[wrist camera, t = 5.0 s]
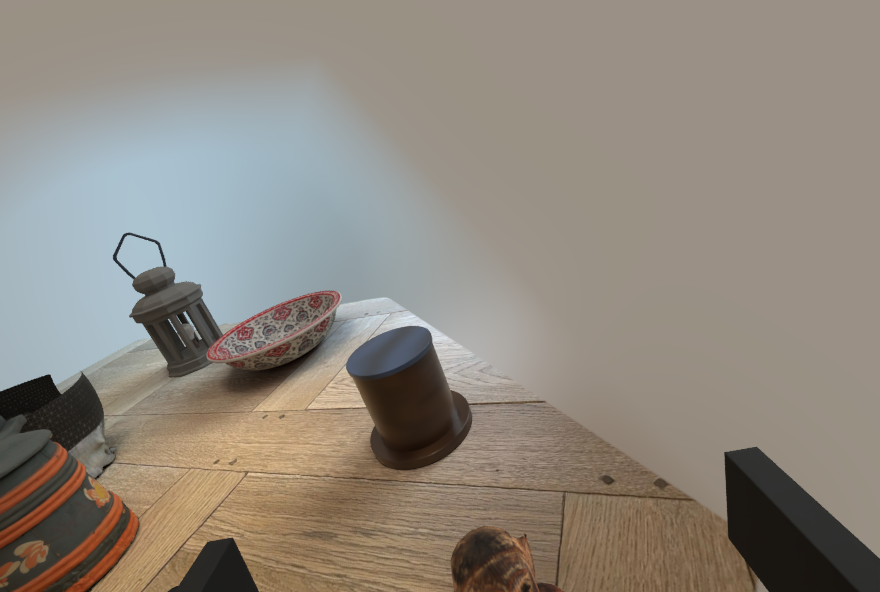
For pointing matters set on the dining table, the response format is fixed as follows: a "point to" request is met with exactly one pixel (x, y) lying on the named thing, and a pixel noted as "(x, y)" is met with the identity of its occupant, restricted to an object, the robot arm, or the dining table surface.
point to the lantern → (173, 316)
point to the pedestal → (408, 399)
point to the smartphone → (173, 589)
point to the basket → (62, 418)
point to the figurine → (494, 563)
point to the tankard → (54, 516)
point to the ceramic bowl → (278, 333)
